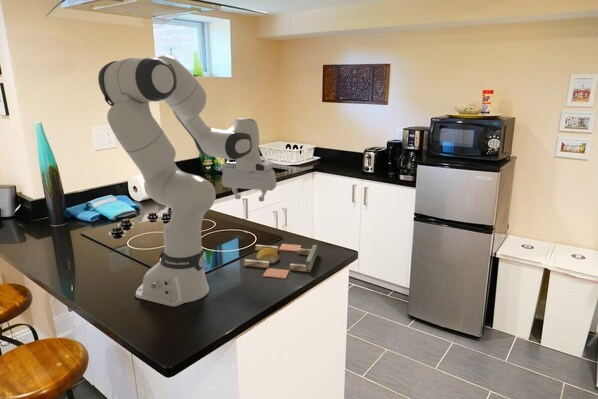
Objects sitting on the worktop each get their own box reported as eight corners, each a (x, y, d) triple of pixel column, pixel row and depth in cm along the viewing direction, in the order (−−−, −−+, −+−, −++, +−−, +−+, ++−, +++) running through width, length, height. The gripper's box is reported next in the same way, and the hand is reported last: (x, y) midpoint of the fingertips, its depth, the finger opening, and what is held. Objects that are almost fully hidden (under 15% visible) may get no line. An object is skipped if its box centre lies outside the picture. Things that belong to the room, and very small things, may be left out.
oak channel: (244, 265, 152) (244, 255, 151) (256, 249, 166) (256, 239, 165) (310, 271, 147) (310, 261, 146) (316, 254, 162) (317, 245, 161)
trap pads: (263, 276, 144) (263, 275, 143) (282, 244, 171) (282, 243, 171) (285, 278, 142) (285, 277, 142) (301, 246, 170) (301, 245, 170)
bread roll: (276, 253, 163) (276, 244, 162) (280, 263, 155) (280, 253, 153) (255, 255, 161) (255, 245, 160) (258, 265, 153) (258, 255, 152)
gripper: (217, 163, 149) (220, 200, 154) (271, 167, 144) (272, 204, 148) (225, 159, 155) (227, 195, 160) (277, 162, 150) (278, 199, 154)
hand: (249, 199), depth 154 cm, fingers open, 8 cm apart
